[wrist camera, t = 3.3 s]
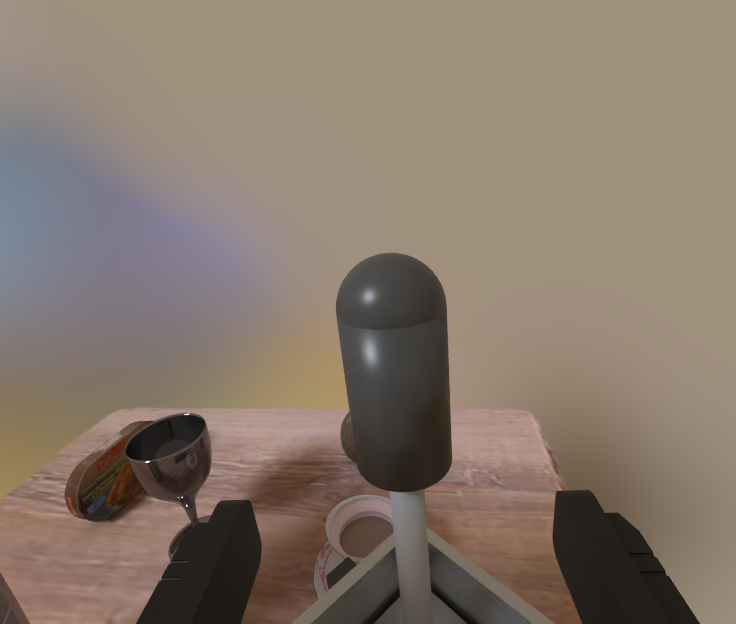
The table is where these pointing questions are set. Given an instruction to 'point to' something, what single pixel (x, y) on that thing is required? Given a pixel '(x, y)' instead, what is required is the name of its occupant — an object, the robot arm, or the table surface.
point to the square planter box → (448, 582)
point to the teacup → (352, 534)
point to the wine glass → (173, 463)
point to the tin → (104, 479)
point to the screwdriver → (400, 408)
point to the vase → (348, 438)
